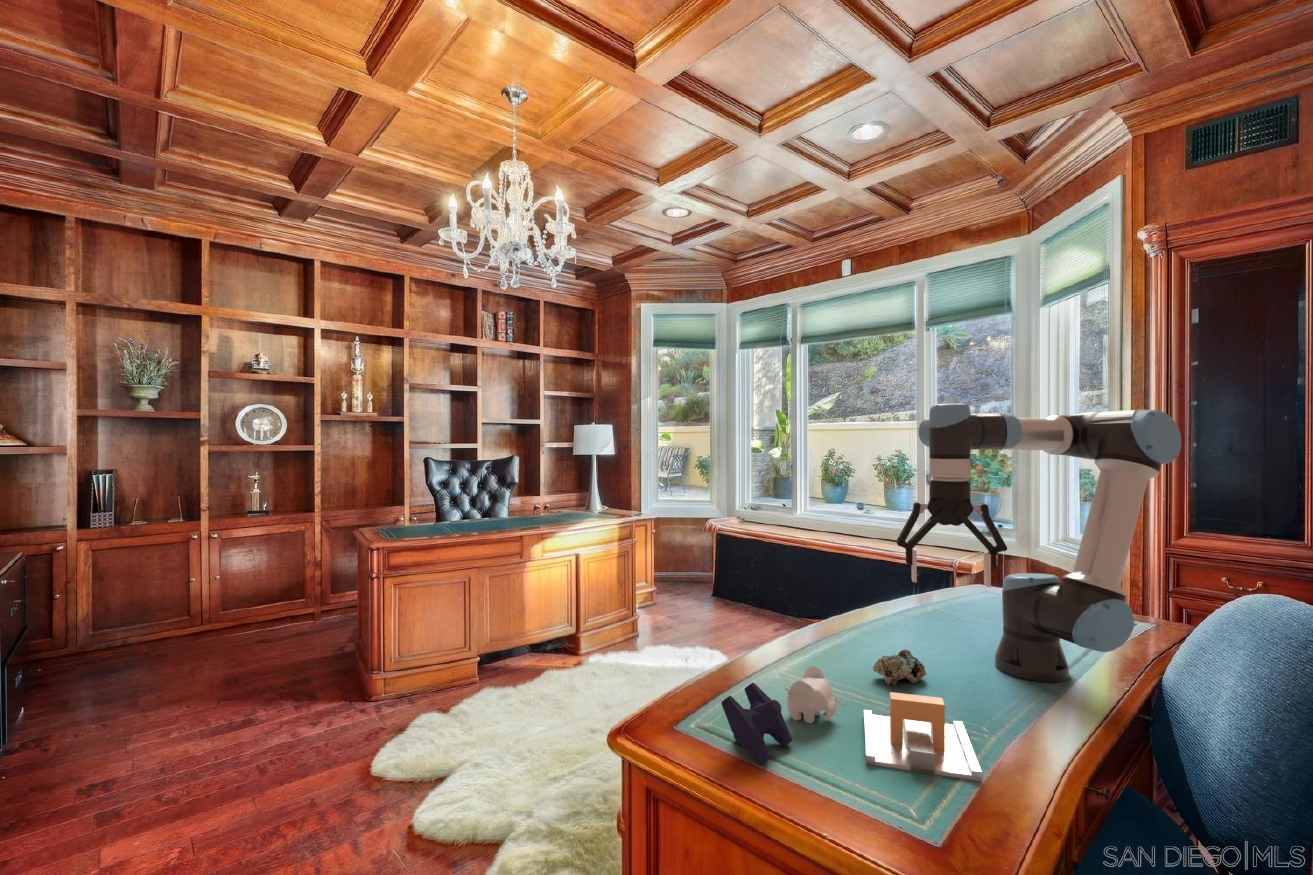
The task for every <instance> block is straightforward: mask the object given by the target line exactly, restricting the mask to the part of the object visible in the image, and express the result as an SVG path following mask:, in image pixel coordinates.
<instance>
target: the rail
mask: <svg viewBox="0 0 1313 875" xmlns="http://www.w3.org/2000/svg"><path fill="white" fill-rule="evenodd" d="M863 725H864V726H863V728H864V744H865V746H864V747H865V764H866V765H868V766H869V765H870V766H876V767H881V768H889V769H896V770H902V771H909V772H914V773H922V774H928V775H936V776H942V777H949V778H955V779H962V780H967V781H968V780H969V781H974V782H983V771H982V769H981V766H980V764H979V761H978V759H977V755H976V753H975V751H974V748H973V746H972V743H971V741H970V738H969V736H968V732H967V731H966V728H965V725H964V723H963V721H961V720H960V721H959V720H953V724H950V723H945V749H938V748H933V746H932V742H931V738H930V723H929V722H921V721H913V720H905V719H903V744H901V743H893V742H891V738H890V716H888V715H887V716H885V715H878V714H873V710H871V709H863Z"/></svg>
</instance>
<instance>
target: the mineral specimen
mask: <svg viewBox="0 0 1313 875" xmlns="http://www.w3.org/2000/svg"><path fill="white" fill-rule="evenodd" d="M872 670H873V671H874V673H877V674H878V675H880V676H883V677H884V680H885V683H886V684H887V685H890V684H892V685H894V686H896V684H897V683H898V681H899V680H903V679H907V680H908V681H909V682H910V683H911V684H913V685H914V684H916V683H917V682H919V681H920V680H922V678H924V677H925V676H926V675H927V671H926V670H925V665H924V664H923V663H922V662H920V660H919V658H918V657H915V656H913V654H912V652H911V650H909V649H902V650H900V651H899V652H898V654H896V655H890V656H888V655H883V656H882V657H880V658H878V660H877V661H876V662H875V663H874V664H873V666H872Z"/></svg>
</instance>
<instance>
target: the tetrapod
mask: <svg viewBox="0 0 1313 875" xmlns="http://www.w3.org/2000/svg"><path fill="white" fill-rule="evenodd" d="M743 690H744V693H745V695H746V698H747V701H748V703H749V704H750V707H749V708H744V707H743V706H742V705H741V704H740V703H739V702H738V701H737V700H736V699H735V698H734V697H733V696H732V695H729V696H727V697H726V698H724V699H723V700H721V702H720V703H721V706H722V710H723V711H724V714H725V717H726V719H727V723H728V725H729V727H730V730H731V732H732V734H733V738H734V741H736V742H738V743H739V744H740V746H741V747H743V748H744V749H745V750H746V751H747V753H748V754H750V755H751V756H752V758H753V759H754V760H756V762H757V763H758V764H759V765H763V764H764V763H765V762H767V761H768V760H769V759H771V757H772V756H771V755H770V752H769V749H768V747H767V745H766V742H765V740H764V737H765V734H766V735H770V736H771V738H773V740H775V741H776V742H777V743H778V744H779V745H780V747H782V748H785V747H786V746H787V745H789V744H790V743H791V742H793V738H792V736H791V734H790V733H791V732H790V730H789V729H788V726H787V723H786V721H785V719H784V716H783V714H782V704H780V702H779V701H778V700H776V699H771V697H769V696H768V695H767V694H766V692H764V691H763V690H762V689H761V688H760V687H759V686H758V685H757V684H755V682H752V683H749V684H748V685H747V686H745V687H744V689H743Z"/></svg>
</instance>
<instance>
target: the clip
mask: <svg viewBox="0 0 1313 875" xmlns="http://www.w3.org/2000/svg"><path fill="white" fill-rule="evenodd" d="M945 713H946V704H945V702H944V699H943V697H937V696H931V695H930V696H927V695H921V694H920V695H919V694H911V693H909V694H908V693H902V692H901V693H900V692H892V691H889V717H890V738H891V742H893V743H901V744H903V719H905V720H913V721H921V722H929V723H930V738H931V742H932V746H933V748H938V749H945V724H946V718H945V717H946V714H945Z"/></svg>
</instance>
